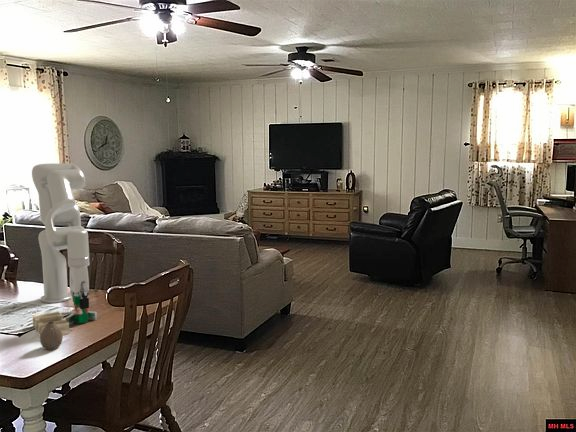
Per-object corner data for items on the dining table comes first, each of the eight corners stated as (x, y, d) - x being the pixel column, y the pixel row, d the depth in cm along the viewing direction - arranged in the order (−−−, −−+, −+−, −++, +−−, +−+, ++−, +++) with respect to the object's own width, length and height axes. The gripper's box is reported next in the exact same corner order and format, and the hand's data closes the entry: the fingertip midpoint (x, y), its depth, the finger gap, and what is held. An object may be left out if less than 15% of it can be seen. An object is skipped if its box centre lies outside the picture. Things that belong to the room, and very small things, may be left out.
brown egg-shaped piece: (45, 344, 175) (43, 319, 174) (66, 343, 176) (64, 319, 174) (37, 352, 168) (35, 326, 167) (58, 351, 169) (57, 326, 168)
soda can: (71, 323, 196) (70, 292, 194) (81, 319, 200) (80, 289, 198) (81, 325, 193) (79, 294, 192) (91, 321, 198) (90, 291, 196)
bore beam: (33, 326, 192) (32, 315, 191) (58, 321, 197) (58, 311, 197) (42, 339, 179) (41, 328, 179) (69, 333, 185) (68, 323, 184)
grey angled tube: (61, 319, 199) (60, 312, 199) (91, 314, 206) (91, 307, 205) (66, 325, 193) (66, 318, 192) (97, 319, 199) (97, 312, 199)
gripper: (62, 258, 198) (65, 301, 200) (74, 267, 184) (76, 313, 187) (82, 256, 202) (84, 298, 205) (95, 264, 189) (97, 309, 191)
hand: (80, 305), depth 196 cm, fingers open, 9 cm apart
